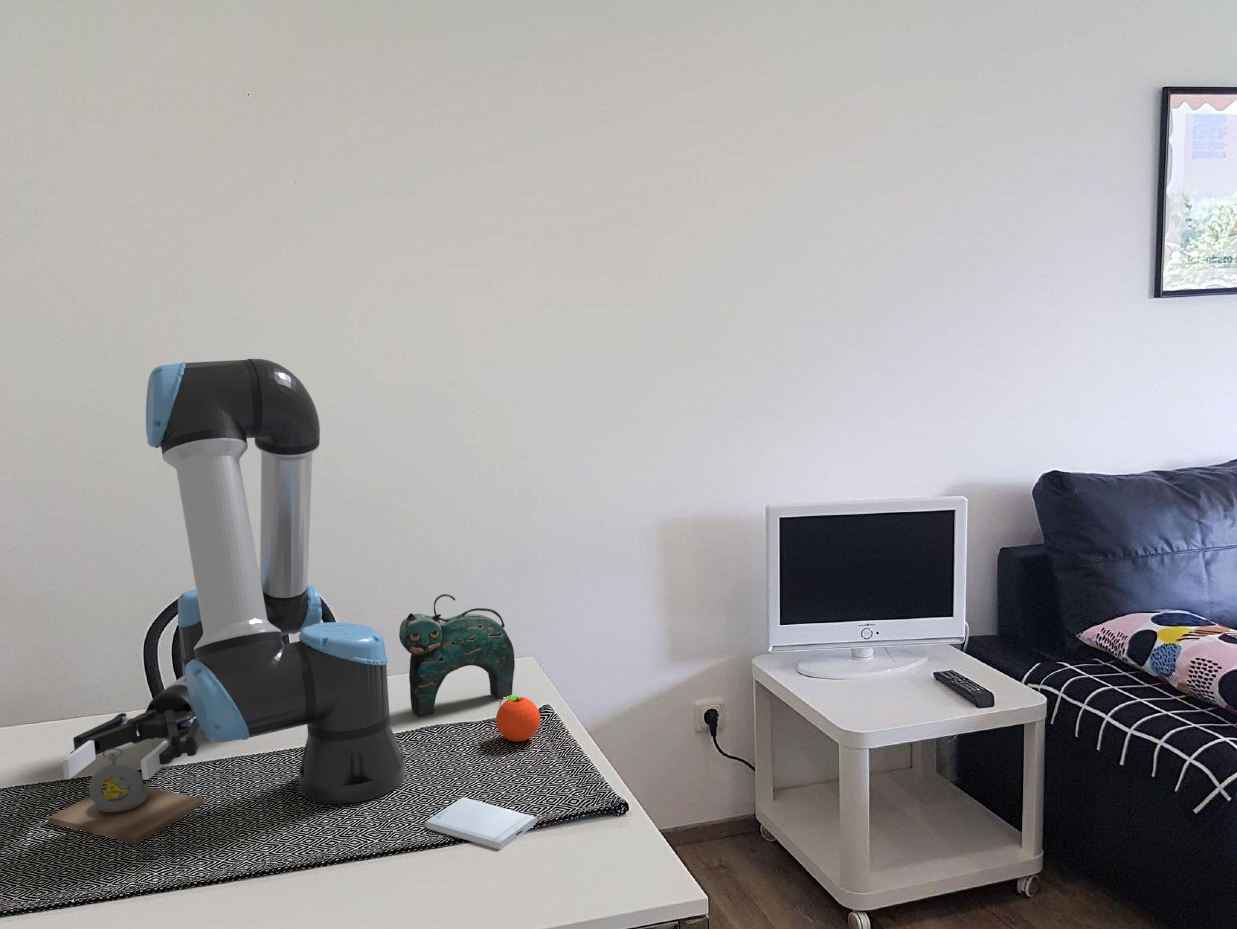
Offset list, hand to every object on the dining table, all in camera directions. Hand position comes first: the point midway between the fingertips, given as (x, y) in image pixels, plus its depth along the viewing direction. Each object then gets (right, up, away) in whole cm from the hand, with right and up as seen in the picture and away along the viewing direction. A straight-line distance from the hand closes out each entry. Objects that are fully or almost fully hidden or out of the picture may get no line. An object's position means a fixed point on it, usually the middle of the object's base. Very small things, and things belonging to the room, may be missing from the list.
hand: (105, 769), depth 149 cm
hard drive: (+50, -8, 0) cm, 51 cm away
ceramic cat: (+41, -1, +44) cm, 60 cm away
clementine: (+52, -3, +28) cm, 59 cm away
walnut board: (+1, -8, +5) cm, 9 cm away
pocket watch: (0, -7, +5) cm, 9 cm away
